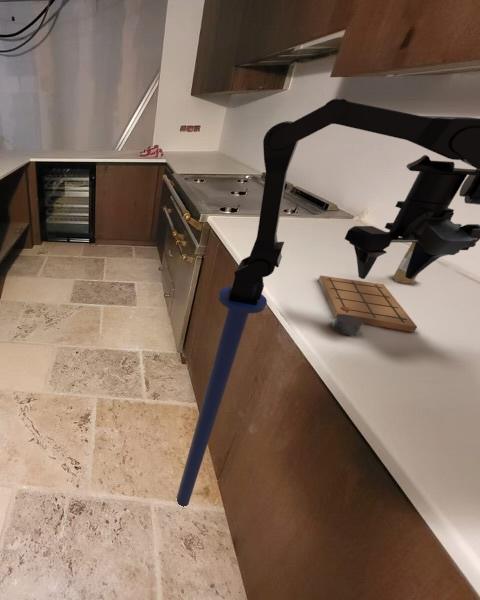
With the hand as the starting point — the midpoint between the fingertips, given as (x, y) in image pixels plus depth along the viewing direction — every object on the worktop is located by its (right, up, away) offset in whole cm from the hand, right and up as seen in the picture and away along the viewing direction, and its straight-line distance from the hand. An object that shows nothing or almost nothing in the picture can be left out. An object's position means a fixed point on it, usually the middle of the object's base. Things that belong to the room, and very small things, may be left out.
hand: (384, 278), depth 64 cm
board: (+7, -5, +13) cm, 16 cm away
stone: (-4, -11, +5) cm, 12 cm away
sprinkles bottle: (+27, +1, +23) cm, 35 cm away
